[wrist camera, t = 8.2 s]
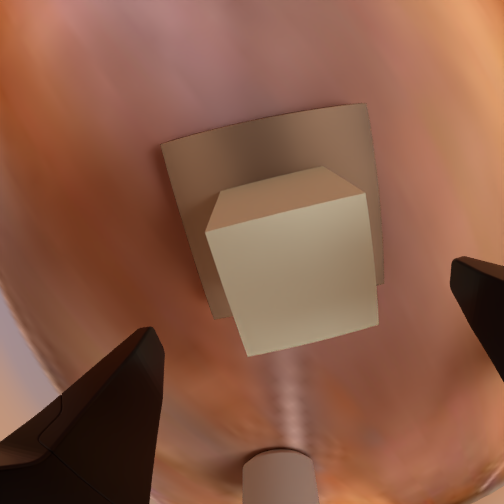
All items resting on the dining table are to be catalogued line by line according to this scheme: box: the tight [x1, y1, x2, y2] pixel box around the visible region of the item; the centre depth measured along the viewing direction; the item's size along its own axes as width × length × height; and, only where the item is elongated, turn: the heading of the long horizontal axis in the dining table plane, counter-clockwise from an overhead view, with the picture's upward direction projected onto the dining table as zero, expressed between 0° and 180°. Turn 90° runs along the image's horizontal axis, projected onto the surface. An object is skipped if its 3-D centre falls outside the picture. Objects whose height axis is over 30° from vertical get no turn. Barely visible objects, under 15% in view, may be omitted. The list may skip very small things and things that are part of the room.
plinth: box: [160, 103, 384, 320], centre depth 17 cm, size 10×10×3 cm
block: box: [205, 166, 379, 357], centre depth 13 cm, size 5×5×6 cm
